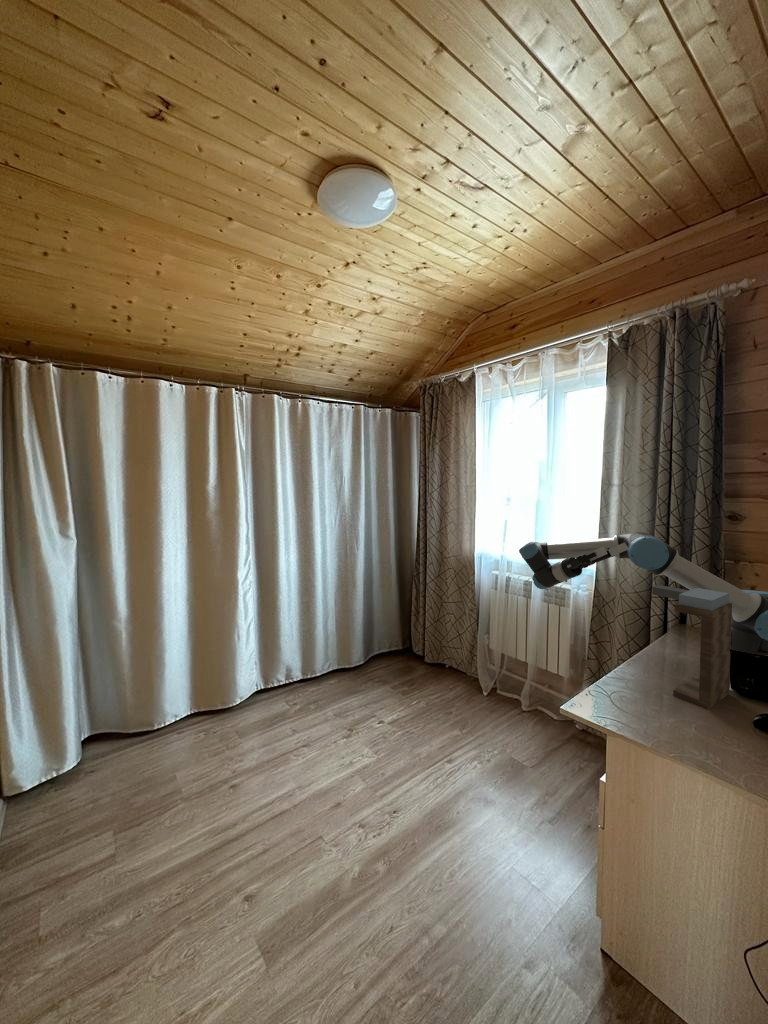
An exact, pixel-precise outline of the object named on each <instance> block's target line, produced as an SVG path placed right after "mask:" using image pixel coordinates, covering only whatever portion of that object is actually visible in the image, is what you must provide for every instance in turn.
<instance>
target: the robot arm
mask: <svg viewBox="0 0 768 1024" xmlns="http://www.w3.org/2000/svg"><path fill="white" fill-rule="evenodd" d="M518 553H519V554H520V556H521V558H522V559H523V560H524V561H525V562H526V564H527V565H528V566H529V569H531V570H532V572H533V574H532V577H531V578H532V581H533V585H534V586H535V587H536V588H537V589H539V590H546V589H548V588H549V589H551V588H552V587H554V586H557V585H559V584H561V583H564V582H565V583H568V580H571V579H575V578H576V577H578V576H580V575H582V573H583V569H586V568H588V567H590V566H593V565H595V564H596V563H599V562H602V561H605V560H608V559H610V558H614V557H616V559H630V561H631V562H632V563H633V565H635V566H637V567H638V568H641V569H644V570H647V571H648V572H650V573H652V574H653V575H655V576H657V577H658V576H662V575H663V576H665V577H667V578H669V579H670V580H671V581H674V582H675V583H677V584H680V585H681V586H683V587H685V588H686V589H687V590H692V589H695V588H701V589H707V590H712V591H718V592H724V593H729V603H732V620H731V649H732V650H736V651H742V652H748V653H754V654H760V655H768V592H767V591H762V590H760V591H759V590H752V589H741V588H739V587H737V586H735V585H734V584H731V583H729V582H728V581H725V580H724V579H722V578H721V577H718V576H717V575H715V574H713V573H712V572H709V571H708V570H706V569H704V568H702V567H700V566H699V565H697V564H695V563H693V562H691V561H689V560H688V559H686V558H684V557H683V556H681V555H679V551H678V549H677V548H675V547H673V546H671V545H669V544H667V543H666V542H665V541H663V540H661V539H660V538H658V537H655V536H653V535H652V534H650V533H647V532H639V531H638V532H631V533H630V532H629V533H623V534H615V535H614V536H613V537H606V538H604V537H603V538H592V539H590V538H589V539H579V540H577V539H576V540H561V541H548V542H538V541H530V542H528V543H525V545H523V546H522V547H520V548H519V550H518ZM549 560H560V561H558V562H555V563H554V564H551V563H550V561H549Z"/></svg>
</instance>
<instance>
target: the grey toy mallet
mask: <svg viewBox="0 0 768 1024" xmlns="http://www.w3.org/2000/svg"><path fill="white" fill-rule="evenodd" d="M651 589H652V592H651V594H652V595H653V596H659V597H663V598H669V599H674V600H678V603H679V604H680V605H685V606H690V607H695V608H699V609H704V610H709V611H713V610H715V609H717V608H720V607H722V606H724V605H726V604H728V603H729V593H724V592H718V591H712V590H707V589H701V588H695V589H692V590H690V589H684V588H678V587H673V586H668V585H662V584H657V585H654V586H652V587H651Z"/></svg>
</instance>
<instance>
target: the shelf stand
mask: <svg viewBox="0 0 768 1024" xmlns="http://www.w3.org/2000/svg"><path fill="white" fill-rule="evenodd" d="M674 610H675V612H678V613H683V614H688V615H691V616H697V617H701V620H700V621H701V622H700V650H699V651H700V653H699V655H700V656H699V678H696V677H692V678H690V679H689V680H687V681H686V682H685V683H682V684H681V685H680V686H678V687H676V688H675V689H673V691H672V694H673V696H675V697H677V698H680V699H682V700H684V701H688V702H690V703H693V704H696V705H697V706H700V707H703V708H705V709H708V710H710V709H712V708H713V707H714V706H716V705H717V704H718V703H719V702H721V701H722V700H723V699H724V698H726V697H727V696H728V695H729V694H730V675H731V674H730V673H731V672H730V671H731V669H730V668H731V652H730V649H731V620H732V603H728V604H726V605H724V606H722V607H720V608H717V609H715V610H713V611H709V610H704V609H699V608H695V607H690V606H685V605H680V604H679V602H678V603H675V606H674Z"/></svg>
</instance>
